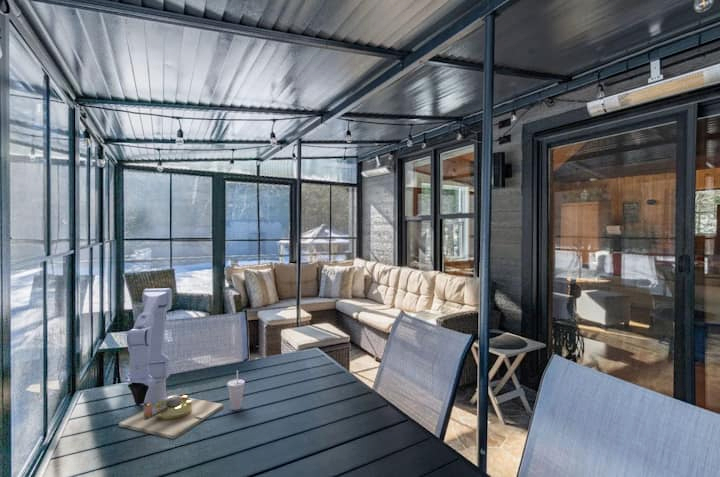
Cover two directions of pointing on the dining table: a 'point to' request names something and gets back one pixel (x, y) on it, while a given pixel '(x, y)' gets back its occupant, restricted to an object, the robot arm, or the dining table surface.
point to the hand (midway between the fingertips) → (139, 403)
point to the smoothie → (236, 392)
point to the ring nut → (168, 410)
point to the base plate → (172, 427)
